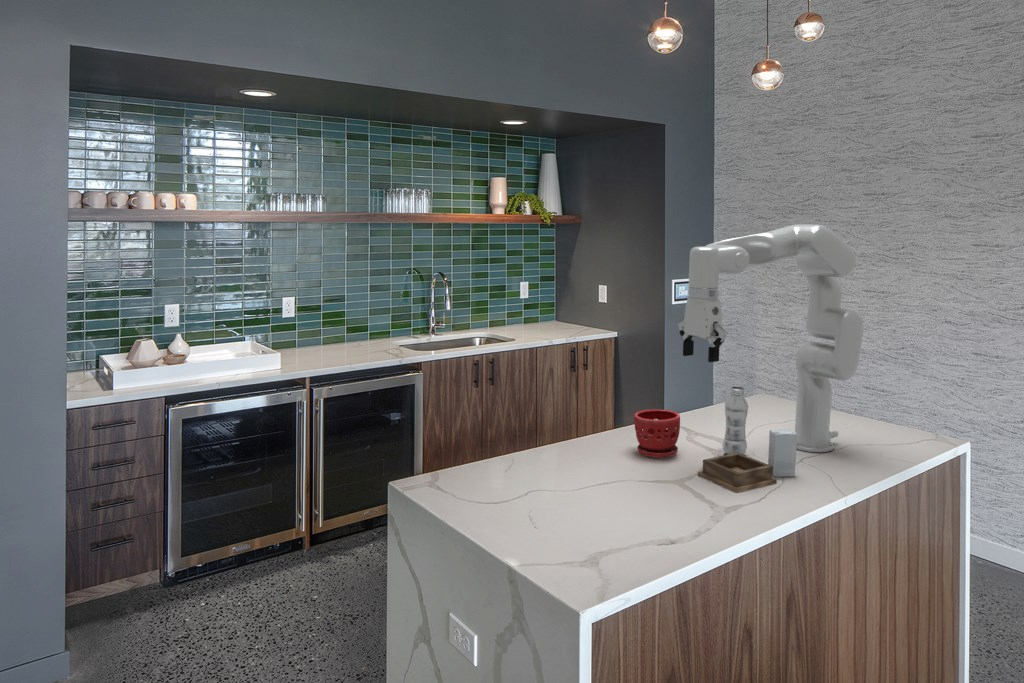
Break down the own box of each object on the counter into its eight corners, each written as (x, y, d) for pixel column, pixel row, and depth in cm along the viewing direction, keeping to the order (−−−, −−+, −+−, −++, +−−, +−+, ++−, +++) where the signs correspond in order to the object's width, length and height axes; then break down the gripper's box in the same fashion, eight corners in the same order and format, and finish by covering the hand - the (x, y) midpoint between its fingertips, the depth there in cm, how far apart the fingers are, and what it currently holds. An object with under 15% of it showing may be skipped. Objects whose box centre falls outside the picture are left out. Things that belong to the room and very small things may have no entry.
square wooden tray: (736, 467, 198) (737, 451, 197) (776, 483, 185) (777, 466, 185) (697, 475, 191) (698, 459, 190) (736, 492, 179) (737, 475, 178)
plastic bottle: (747, 459, 204) (751, 391, 201) (723, 457, 205) (726, 390, 202) (745, 452, 210) (748, 385, 207) (721, 450, 212) (724, 384, 208)
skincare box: (789, 471, 194) (791, 428, 192) (795, 477, 189) (798, 433, 187) (766, 471, 194) (768, 428, 192) (772, 477, 189) (774, 433, 187)
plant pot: (675, 447, 215) (677, 408, 213) (681, 461, 203) (683, 420, 201) (632, 445, 217) (633, 407, 215) (635, 460, 204) (636, 419, 202)
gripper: (738, 296, 181) (734, 362, 184) (691, 290, 196) (689, 352, 199) (715, 298, 177) (712, 365, 180) (670, 292, 193) (668, 354, 195)
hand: (700, 358), depth 190 cm, fingers open, 9 cm apart
